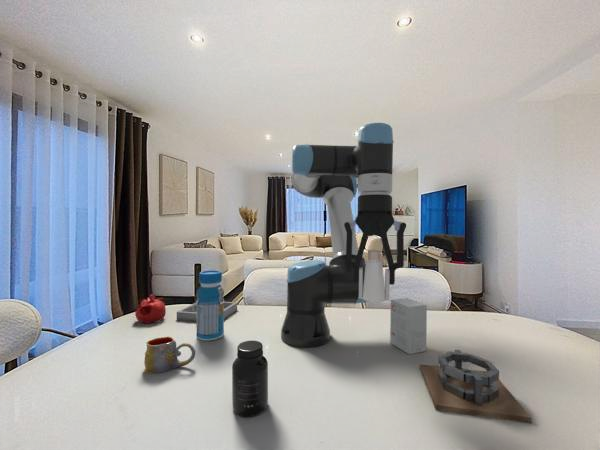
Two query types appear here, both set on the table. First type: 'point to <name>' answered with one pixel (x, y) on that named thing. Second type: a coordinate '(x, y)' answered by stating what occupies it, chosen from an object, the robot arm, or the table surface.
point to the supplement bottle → (249, 380)
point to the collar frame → (469, 377)
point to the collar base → (448, 402)
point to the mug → (164, 355)
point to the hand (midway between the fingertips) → (373, 297)
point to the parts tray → (191, 316)
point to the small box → (408, 325)
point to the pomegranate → (150, 310)
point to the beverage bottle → (210, 306)
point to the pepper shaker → (373, 278)
